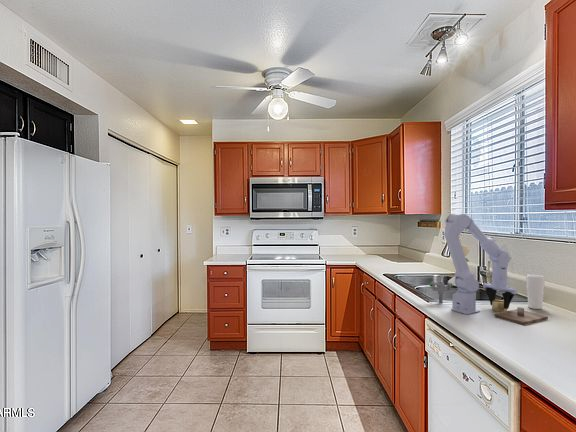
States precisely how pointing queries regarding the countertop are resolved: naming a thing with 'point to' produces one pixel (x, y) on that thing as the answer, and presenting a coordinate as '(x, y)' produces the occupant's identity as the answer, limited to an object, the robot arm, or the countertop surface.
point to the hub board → (521, 316)
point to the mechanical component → (440, 289)
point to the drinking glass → (535, 290)
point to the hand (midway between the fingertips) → (499, 306)
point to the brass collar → (498, 306)
